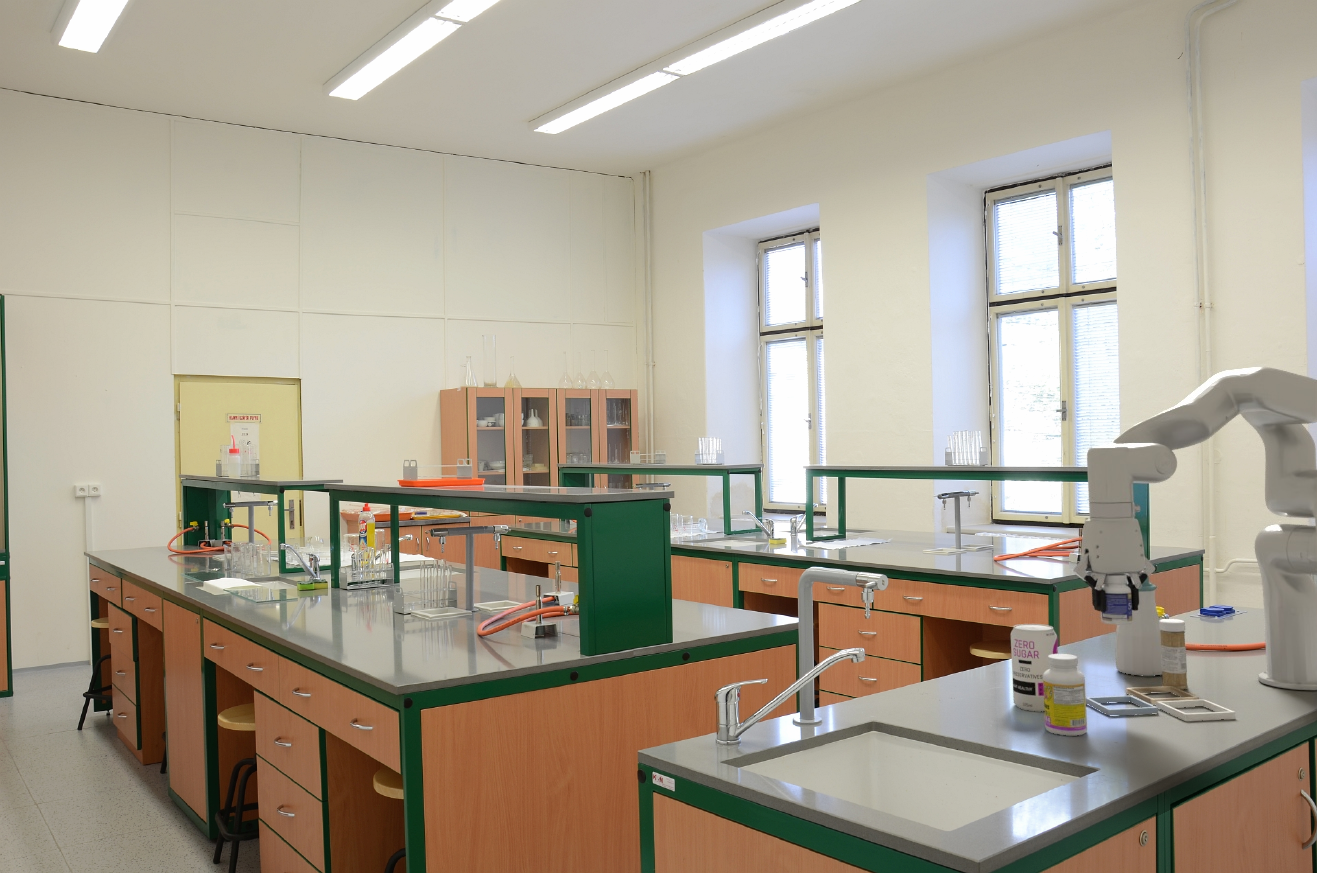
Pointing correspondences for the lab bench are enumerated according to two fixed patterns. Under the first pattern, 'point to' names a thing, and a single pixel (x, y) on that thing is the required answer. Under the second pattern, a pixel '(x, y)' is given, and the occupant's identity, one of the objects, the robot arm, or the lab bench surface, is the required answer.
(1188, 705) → the tray white
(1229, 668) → the lab bench surface
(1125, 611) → the pill bottle
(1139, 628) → the soap bottle
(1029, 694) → the supplement can
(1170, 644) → the sprinkles bottle
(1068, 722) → the supplement bottle
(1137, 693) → the tray birch
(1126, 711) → the tray slate
